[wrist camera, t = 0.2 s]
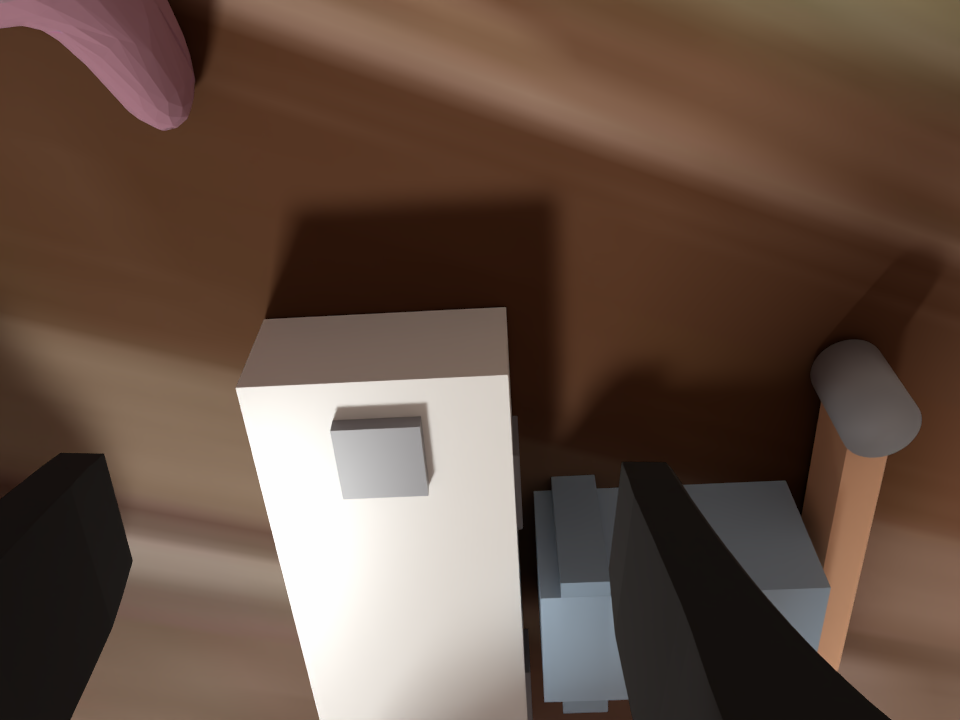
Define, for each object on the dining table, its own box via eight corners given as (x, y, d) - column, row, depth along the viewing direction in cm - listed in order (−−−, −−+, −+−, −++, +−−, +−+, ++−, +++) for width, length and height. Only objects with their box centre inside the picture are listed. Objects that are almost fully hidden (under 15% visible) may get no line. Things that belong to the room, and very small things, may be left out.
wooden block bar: (821, 657, 29) (846, 723, 27) (764, 659, 29) (784, 725, 27) (889, 337, 22) (929, 393, 20) (815, 341, 22) (847, 396, 20)
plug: (767, 592, 28) (806, 705, 24) (538, 600, 28) (544, 714, 25) (787, 465, 25) (834, 572, 22) (533, 476, 25) (540, 584, 22)
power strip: (532, 716, 31) (537, 812, 28) (353, 722, 31) (339, 817, 28) (512, 306, 22) (515, 384, 19) (264, 319, 22) (231, 398, 20)
